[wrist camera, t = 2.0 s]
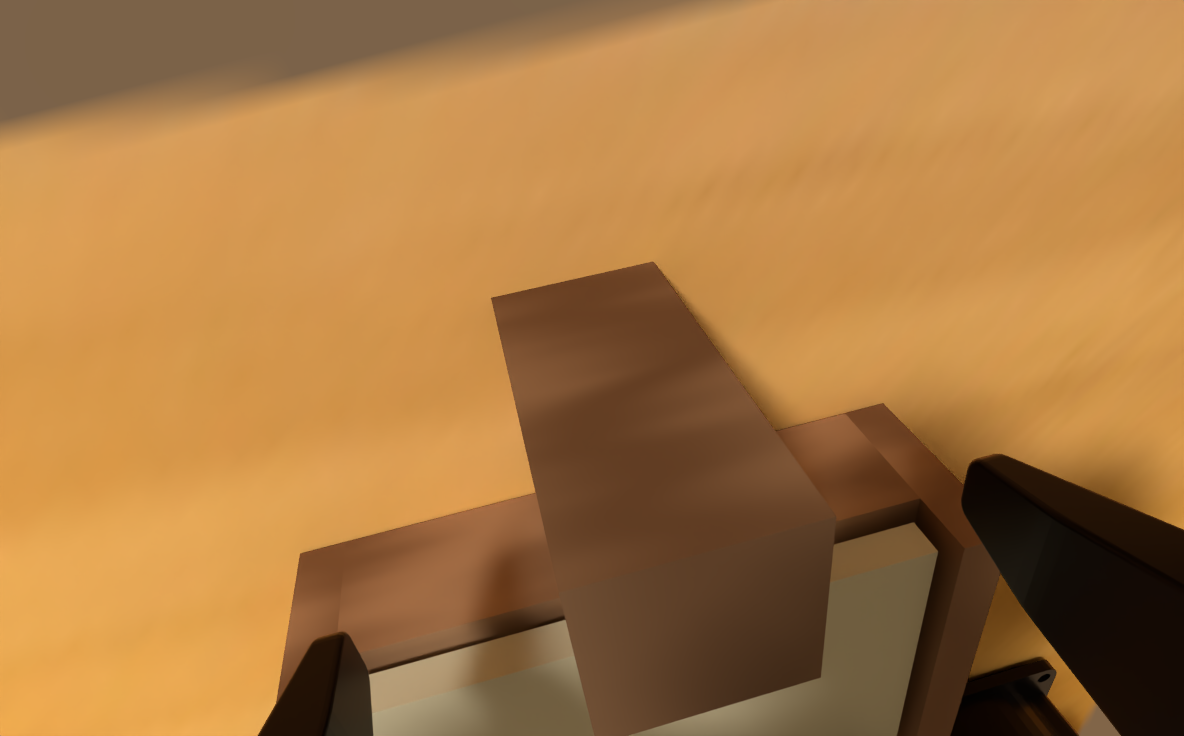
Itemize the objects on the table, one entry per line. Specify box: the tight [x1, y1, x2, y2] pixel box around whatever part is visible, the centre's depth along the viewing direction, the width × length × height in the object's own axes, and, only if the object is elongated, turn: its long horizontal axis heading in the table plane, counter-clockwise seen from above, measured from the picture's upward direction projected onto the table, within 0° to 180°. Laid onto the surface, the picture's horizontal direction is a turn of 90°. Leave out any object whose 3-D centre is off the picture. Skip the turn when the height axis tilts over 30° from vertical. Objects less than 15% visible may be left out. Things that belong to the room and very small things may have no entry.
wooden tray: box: [276, 404, 1000, 736], centre depth 17 cm, size 14×9×4 cm, turn 98°
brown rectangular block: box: [491, 262, 836, 736], centre depth 11 cm, size 3×3×7 cm
